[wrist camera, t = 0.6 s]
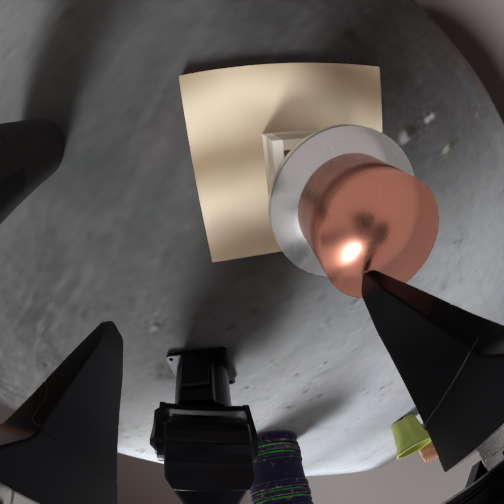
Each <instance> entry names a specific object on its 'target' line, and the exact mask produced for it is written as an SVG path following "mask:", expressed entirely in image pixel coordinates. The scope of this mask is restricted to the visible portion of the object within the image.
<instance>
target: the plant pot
mask: <svg viewBox="0 0 504 504" xmlns="http://www.w3.org/2000/svg"><path fill="white" fill-rule="evenodd" d="M391 428H392V431H393V435H394V439H395V443H396V447H397V455H398V456H397V459H401V458H403V457H406V456H408V455H410V454H412V453H414V452H416V451H418V450H420V449H421V448H423V447H424V446H426V445H427V444H428V443H430V442H431V439H430V436H429V434H428V433H427V432H426V430H425V429H424V428H423V426H422V425H421V424H420V422H419V421H418V420H417V418H416V417H415V415H414V414H410V415H406V416H405V417H403V419H401V420H398V421H396V422H395V423H394V424H393V425H392V427H391Z"/></svg>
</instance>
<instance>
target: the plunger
mask: <svg viewBox="0 0 504 504" xmlns="http://www.w3.org/2000/svg"><path fill="white" fill-rule="evenodd" d="M268 215H269V221H270V225H271V228H272V232H273V234H274V236H275V239H276V241H277V243H278V245H279V247H280V249H281V250H282V252H283V253H284V254H285V256H286V257H287V258H288V259H289V260H290V261H291V262H292V263H293V264H295V265H296V266H297V267H299V268H301V269H302V270H304V271H306V272H309V273H311V274H314V275H318V276H323V277H328V278H329V279H330V281H331V283H332V284H333V285H334V286H335V287H336V288H337V289H338V290H340V291H341V292H343V293H345V294H347V295H349V296H352V297H357V298H363V297H362V293H361V289H362V278H363V273H364V272H366V271H370V270H376V271H378V272H381V273H383V274H385V275H388V276H390V277H392V278H395V279H397V280H399V281H401V282H404V283H406V282H407V281H408V280H410V279H411V278H412V277H413V276H414V275H415V274H416V273H417V272H418V271H419V269H420V268H421V267H422V266H423V264H424V263H425V261H426V260H427V258H428V256H429V255H430V253H431V250H432V248H433V246H434V243H435V240H436V236H437V232H438V224H439V216H438V208H437V204H436V201H435V198H434V196H433V194H432V193H431V191H430V190H429V188H428V187H427V186H426V185H425V184H424V183H423V182H422V181H420V180H418V179H417V178H415V177H414V173H413V170H412V167H411V164H410V162H409V160H408V158H407V156H406V155H405V153H404V152H403V150H402V149H401V148H400V147H399V145H398V144H397V143H396V142H395V141H393V140H392V139H391V138H390V137H388V136H387V135H385V134H383V133H381V132H379V131H377V130H374V129H371V128H368V127H364V126H359V125H353V124H341V125H333V126H329V127H326V128H323V129H320V130H318V131H316V132H314V133H312V134H310V135H308V136H307V137H305V138H304V139H303V140H301V141H300V142H299V143H298V144H296V145H295V146H294V147H293V148H292V149H291V150H290V152H289V153H288V154H287V155H286V157H285V158H284V159H283V161H282V162H281V164H280V166H279V167H278V169H277V171H276V173H275V176H274V178H273V181H272V184H271V188H270V192H269V200H268Z"/></svg>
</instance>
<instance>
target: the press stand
mask: <svg viewBox="0 0 504 504" xmlns="http://www.w3.org/2000/svg"><path fill="white" fill-rule="evenodd" d="M179 81H180V88H181V95H182V101H183V108H184V114H185V120H186V126H187V132H188V138H189V144H190V150H191V156H192V161H193V167H194V172H195V178H196V183H197V189H198V194H199V199H200V204H201V209H202V214H203V219H204V224H205V229H206V234H207V239H208V244H209V248H210V253H211V258H212V262H219V261H225V260H232V259H238V258H244V257H250V256H256V255H262V254H268V253H274V252H280V251H282V250H281V249H280V247H279V245H278V243H277V241H276V239H275V236H274V234H273V232H272V228H271V225H270V221H269V215H268V200H269V192H270V188H271V184H272V181H273V178H274V176H275V173H276V171H277V169H278V167H279V166H280V164H281V162H282V161H283V159H284V158H285V157H286V155H287V154H288V153H289V152H290V150H291V149H292V148H293V147H294V146H295V145H296V144H298V143H299V142H300V141H301V140H303V139H304V138H305V137H307V136H308V135H310V134H312V133H314V132H316V131H318V130H320V129H323V128H326V127H329V126H333V125H341V124H353V125H359V126H364V127H368V128H371V129H374V130H377V131H379V132H381V133H382V100H381V83H380V70H379V67H377V66H367V65H355V64H339V63H277V64H261V65H249V66H239V67H230V68H222V69H215V70H208V71H202V72H196V73H191V74H185V75H180V76H179Z"/></svg>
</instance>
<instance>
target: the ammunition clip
mask: <svg viewBox="0 0 504 504" xmlns="http://www.w3.org/2000/svg"><path fill="white" fill-rule="evenodd" d="M424 429H425V430H426V428H425V427H424ZM426 432H427V430H426ZM427 433H428V432H427ZM418 451H419V453H420V454H421V456H422V458H423V459H424V461H425V462H426V463H427V462H428V461H429V462H430V460H431V461H432V460H433V459H434V460H435V458H436V459H437V457H438V455H437V453H436V450H435V448H434V446H433V443H432V441H431V442H430V443H428V444H427V445H426V446H424V447H423V448H421V449H420V450H418ZM438 458H439V457H438ZM427 460H428V461H427Z"/></svg>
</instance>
